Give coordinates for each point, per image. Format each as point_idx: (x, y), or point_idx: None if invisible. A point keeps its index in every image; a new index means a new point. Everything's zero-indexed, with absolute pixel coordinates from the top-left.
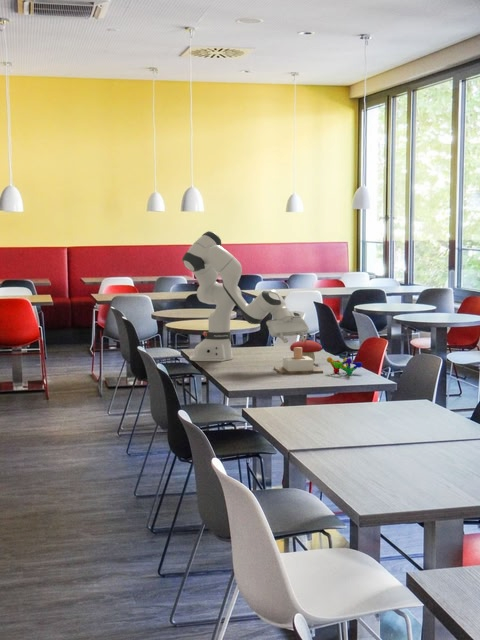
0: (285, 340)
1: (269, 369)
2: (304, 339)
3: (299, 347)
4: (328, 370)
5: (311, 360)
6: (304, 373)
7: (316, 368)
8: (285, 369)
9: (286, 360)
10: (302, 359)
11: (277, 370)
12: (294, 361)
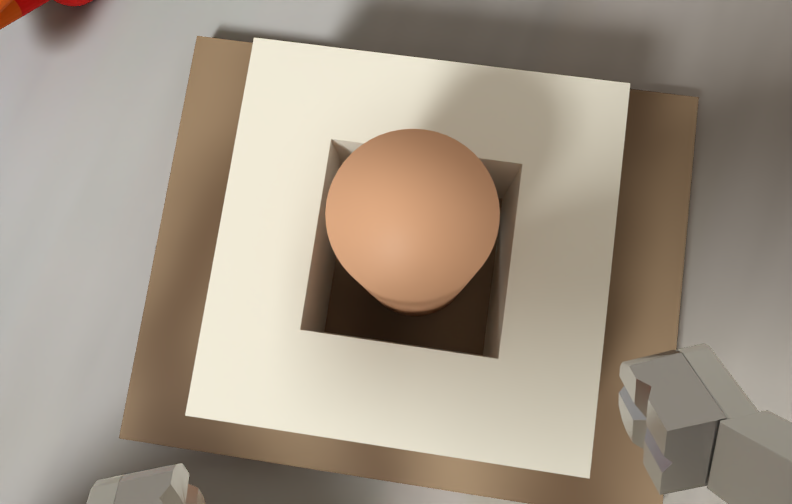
0: (708, 347)
1: (714, 499)
2: (106, 480)
3: (374, 226)
4: (72, 190)
5: (287, 45)
6: None
7: (195, 214)
8: None
9: (612, 206)
10: (395, 108)
11: (679, 278)
12: (532, 79)
